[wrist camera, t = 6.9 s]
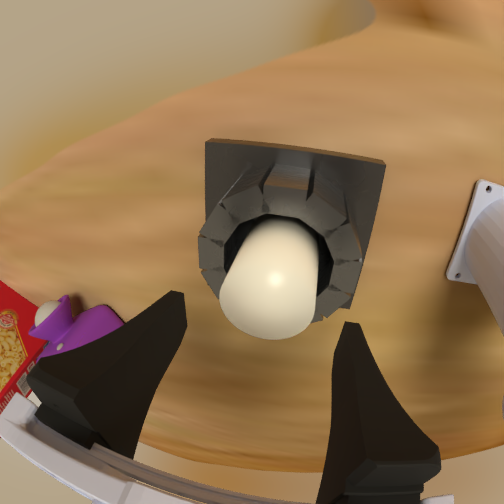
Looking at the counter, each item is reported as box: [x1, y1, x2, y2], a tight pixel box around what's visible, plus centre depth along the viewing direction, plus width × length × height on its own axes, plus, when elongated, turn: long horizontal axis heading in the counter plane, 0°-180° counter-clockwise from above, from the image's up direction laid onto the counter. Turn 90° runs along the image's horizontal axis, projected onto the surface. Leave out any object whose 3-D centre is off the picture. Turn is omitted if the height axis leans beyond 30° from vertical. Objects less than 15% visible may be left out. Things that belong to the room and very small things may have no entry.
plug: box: [219, 213, 320, 340], centre depth 17 cm, size 4×4×6 cm
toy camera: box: [28, 295, 124, 363], centre depth 29 cm, size 11×14×10 cm
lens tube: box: [198, 138, 386, 323], centre depth 19 cm, size 11×11×5 cm
